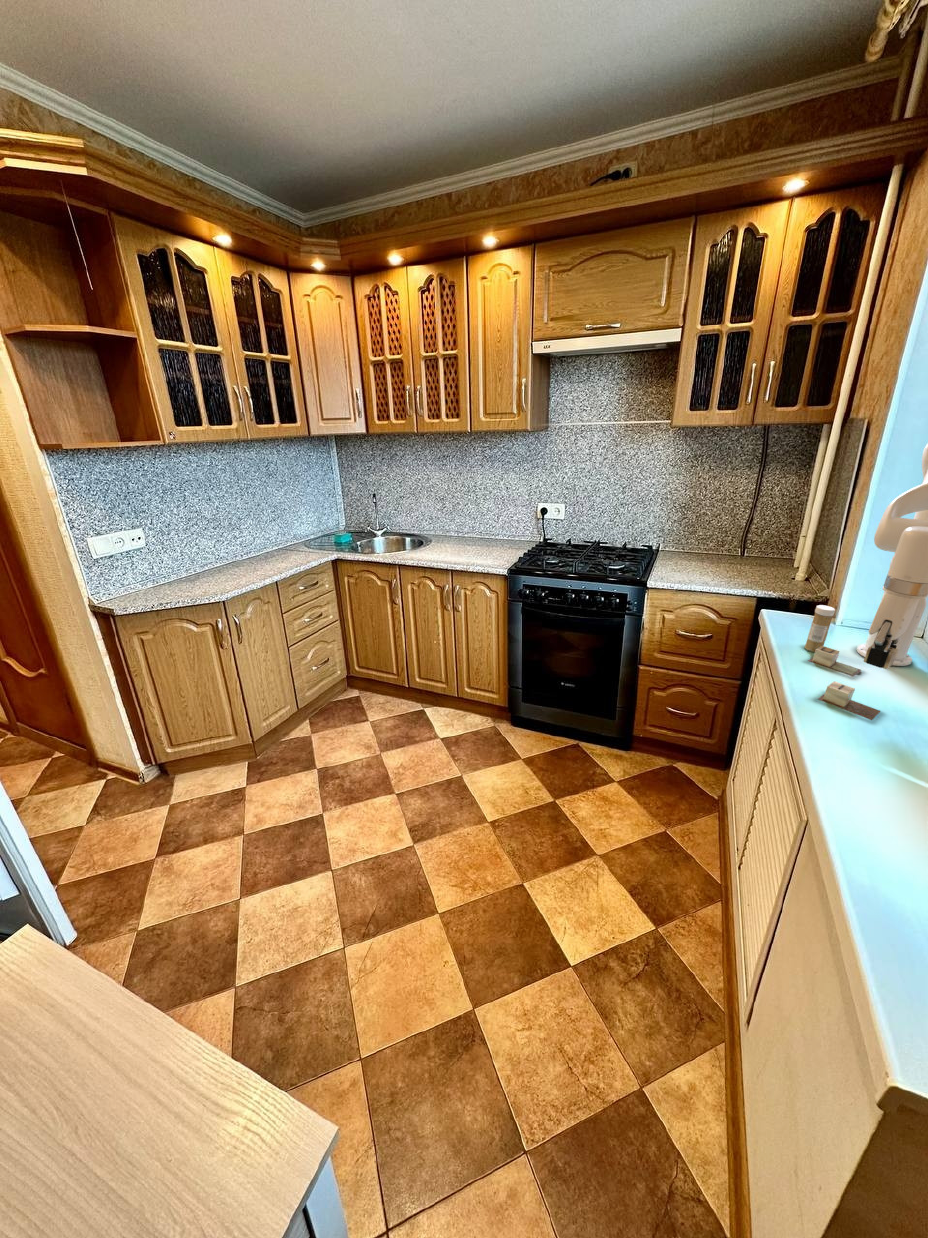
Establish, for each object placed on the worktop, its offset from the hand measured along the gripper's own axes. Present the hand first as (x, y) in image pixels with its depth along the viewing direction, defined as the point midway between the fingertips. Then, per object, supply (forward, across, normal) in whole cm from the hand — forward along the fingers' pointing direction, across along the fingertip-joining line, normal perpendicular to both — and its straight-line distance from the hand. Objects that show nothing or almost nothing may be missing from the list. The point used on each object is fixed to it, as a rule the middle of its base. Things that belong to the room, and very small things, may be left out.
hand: (878, 661), depth 115 cm
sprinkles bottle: (+14, -28, -20) cm, 37 cm away
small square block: (0, 0, 0) cm, 0 cm away
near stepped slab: (+13, +1, -2) cm, 13 cm away
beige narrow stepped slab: (+13, -20, -12) cm, 27 cm away
